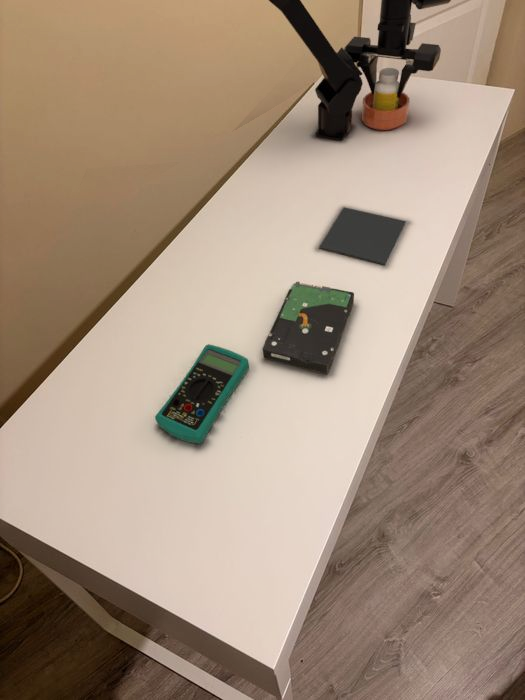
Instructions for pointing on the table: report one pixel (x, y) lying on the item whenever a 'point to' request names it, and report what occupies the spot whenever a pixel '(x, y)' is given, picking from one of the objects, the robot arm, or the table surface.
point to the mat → (363, 235)
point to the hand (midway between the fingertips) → (386, 95)
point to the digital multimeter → (202, 394)
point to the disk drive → (309, 327)
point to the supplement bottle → (386, 90)
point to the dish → (384, 113)
